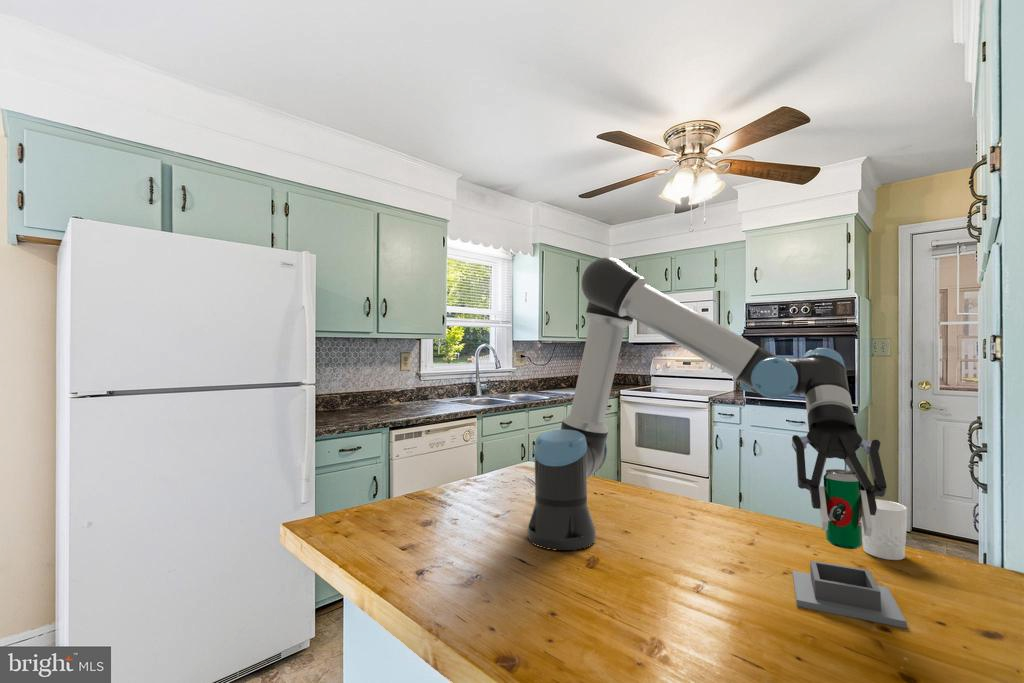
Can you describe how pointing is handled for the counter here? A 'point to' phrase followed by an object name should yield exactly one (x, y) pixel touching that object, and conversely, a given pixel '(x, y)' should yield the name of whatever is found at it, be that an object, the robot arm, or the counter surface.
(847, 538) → the soda can
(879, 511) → the white cup
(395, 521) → the counter surface
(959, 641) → the counter surface
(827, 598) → the mount
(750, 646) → the counter surface
